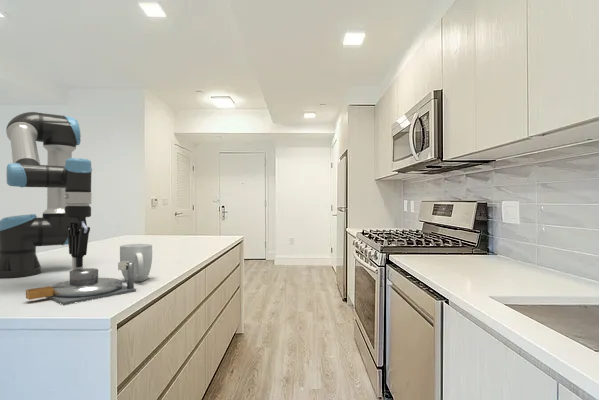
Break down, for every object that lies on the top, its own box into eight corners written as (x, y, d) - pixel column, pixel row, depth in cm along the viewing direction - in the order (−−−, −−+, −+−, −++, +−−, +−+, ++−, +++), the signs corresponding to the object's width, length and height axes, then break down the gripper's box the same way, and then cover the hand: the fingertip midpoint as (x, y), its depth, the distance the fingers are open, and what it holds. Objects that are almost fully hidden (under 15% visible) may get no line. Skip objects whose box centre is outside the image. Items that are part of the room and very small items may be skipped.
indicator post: (113, 290, 121) (114, 261, 121) (127, 288, 125) (128, 260, 125) (120, 293, 119) (121, 263, 119) (135, 290, 122) (135, 261, 122)
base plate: (37, 293, 117) (37, 290, 117) (105, 282, 134) (105, 280, 134) (63, 305, 104) (63, 302, 104) (135, 291, 121) (135, 288, 121)
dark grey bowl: (65, 283, 120) (65, 270, 120) (91, 279, 127) (91, 267, 127) (76, 286, 115) (76, 273, 115) (102, 282, 122) (102, 270, 122)
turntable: (16, 293, 113) (16, 285, 113) (105, 279, 133) (105, 272, 133) (39, 305, 100) (40, 296, 100) (133, 288, 121) (133, 280, 121)
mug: (157, 283, 133) (157, 246, 133) (123, 286, 127) (124, 248, 127) (148, 276, 146) (148, 242, 146) (117, 279, 140) (117, 244, 140)
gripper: (57, 205, 125) (57, 275, 125) (73, 205, 117) (73, 281, 117) (82, 205, 131) (81, 272, 131) (98, 205, 123) (98, 277, 123)
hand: (77, 276), depth 124 cm, fingers closed
